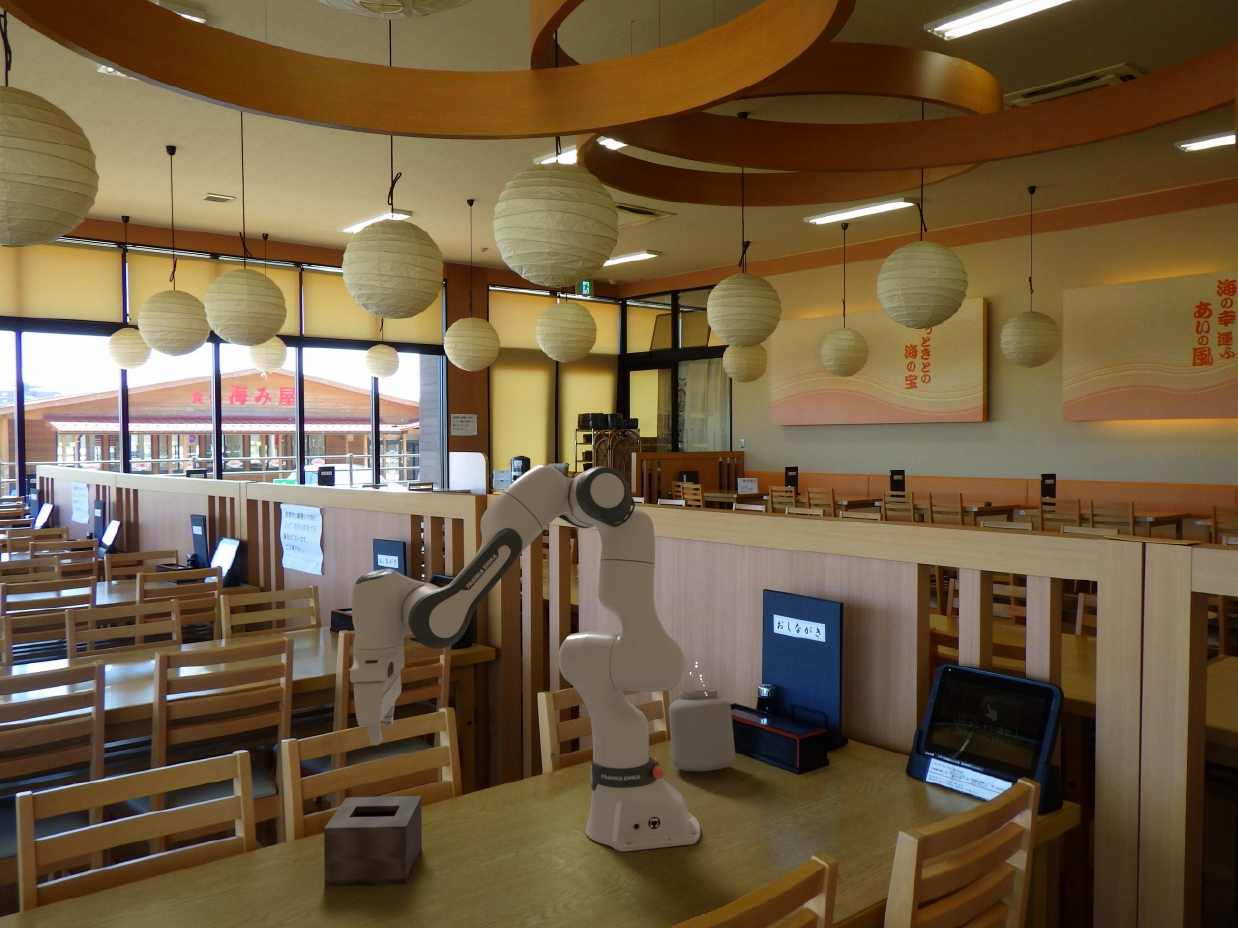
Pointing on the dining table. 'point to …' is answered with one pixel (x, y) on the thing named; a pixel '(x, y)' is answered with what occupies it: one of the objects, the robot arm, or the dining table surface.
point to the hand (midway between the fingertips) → (382, 734)
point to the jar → (701, 731)
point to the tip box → (373, 841)
